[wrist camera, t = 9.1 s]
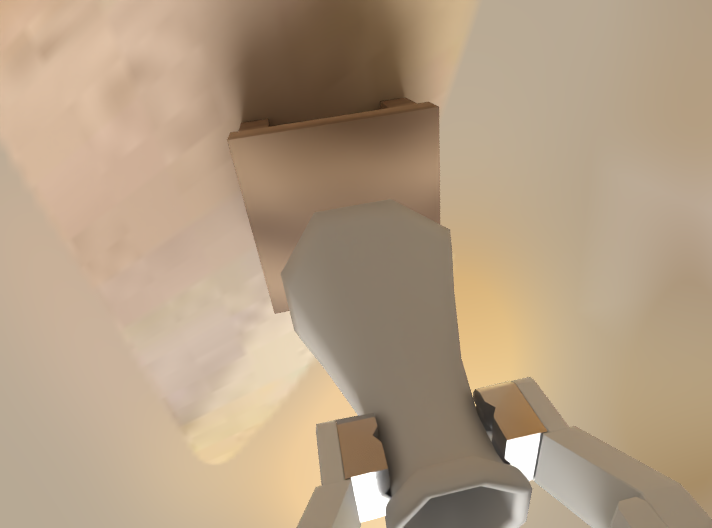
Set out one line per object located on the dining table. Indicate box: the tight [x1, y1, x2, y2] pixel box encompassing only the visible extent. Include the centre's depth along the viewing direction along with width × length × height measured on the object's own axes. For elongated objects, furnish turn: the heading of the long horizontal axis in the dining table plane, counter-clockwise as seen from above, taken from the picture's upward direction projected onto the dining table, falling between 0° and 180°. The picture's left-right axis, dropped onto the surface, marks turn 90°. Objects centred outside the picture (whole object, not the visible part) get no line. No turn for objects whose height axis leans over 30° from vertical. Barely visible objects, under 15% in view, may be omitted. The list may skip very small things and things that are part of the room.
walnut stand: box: [227, 98, 440, 314], centre depth 24 cm, size 10×10×5 cm
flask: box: [281, 199, 532, 528], centre depth 13 cm, size 7×7×10 cm
